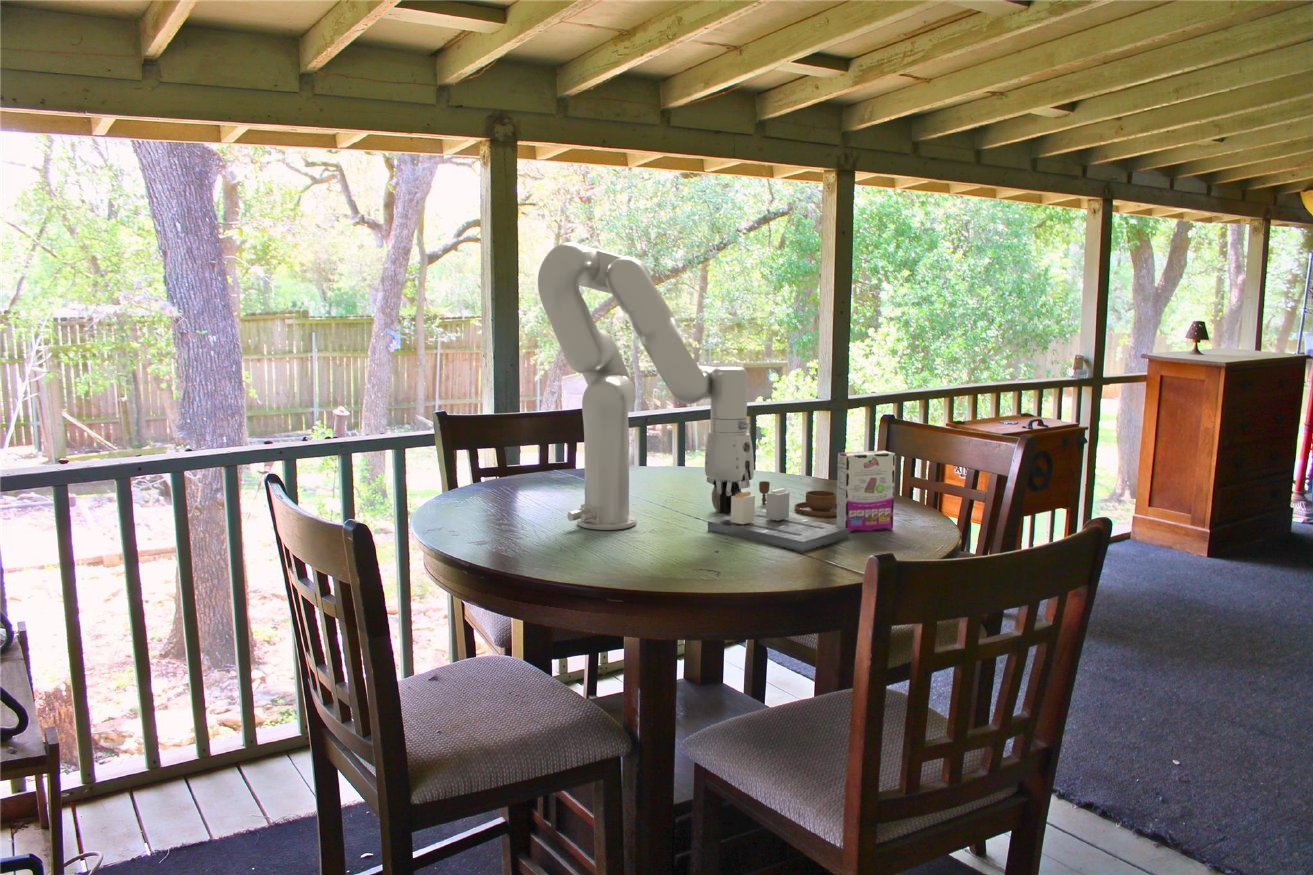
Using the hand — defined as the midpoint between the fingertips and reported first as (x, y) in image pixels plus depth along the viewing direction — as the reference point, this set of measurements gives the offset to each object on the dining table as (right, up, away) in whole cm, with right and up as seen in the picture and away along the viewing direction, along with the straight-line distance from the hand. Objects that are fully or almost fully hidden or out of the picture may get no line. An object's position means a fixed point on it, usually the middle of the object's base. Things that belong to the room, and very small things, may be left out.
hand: (727, 512), depth 191 cm
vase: (+1, -1, +17) cm, 17 cm away
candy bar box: (+29, -4, +2) cm, 29 cm away
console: (+10, -4, -4) cm, 11 cm away
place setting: (+21, -2, +22) cm, 30 cm away
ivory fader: (+3, -2, -3) cm, 4 cm away
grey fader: (+11, -1, +1) cm, 11 cm away
